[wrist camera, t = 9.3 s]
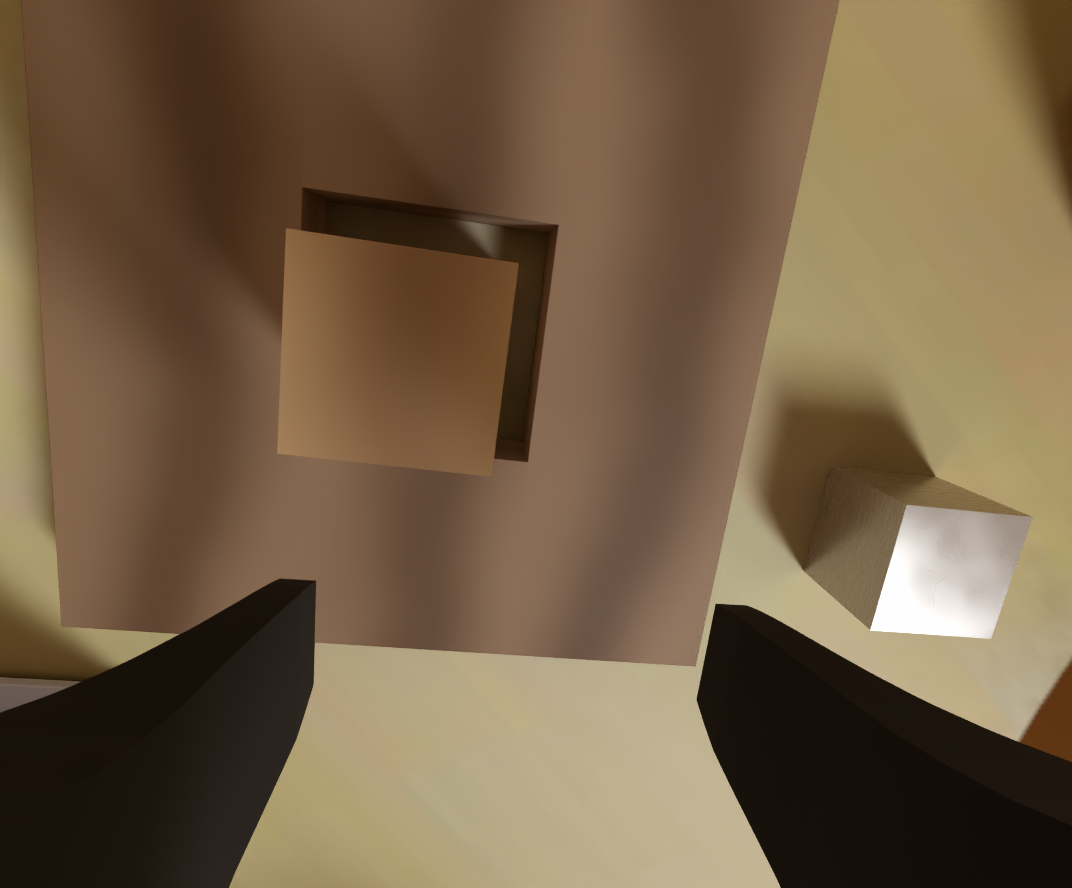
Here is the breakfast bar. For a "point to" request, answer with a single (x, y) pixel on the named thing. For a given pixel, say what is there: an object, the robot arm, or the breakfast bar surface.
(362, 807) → the breakfast bar surface
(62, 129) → the hole plate
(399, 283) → the oak pin
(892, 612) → the steel stub
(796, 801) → the robot arm
